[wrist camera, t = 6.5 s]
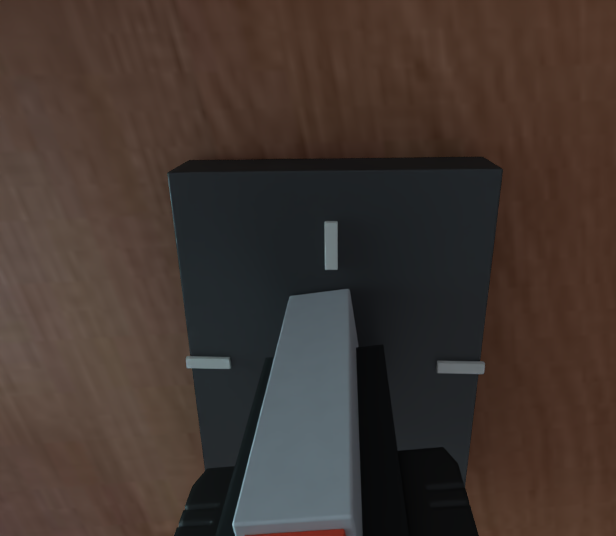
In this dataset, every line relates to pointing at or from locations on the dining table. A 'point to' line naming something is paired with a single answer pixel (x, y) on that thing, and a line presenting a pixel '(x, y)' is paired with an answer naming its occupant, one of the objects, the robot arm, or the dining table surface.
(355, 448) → the knob
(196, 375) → the panel
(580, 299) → the dining table surface
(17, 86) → the dining table surface
